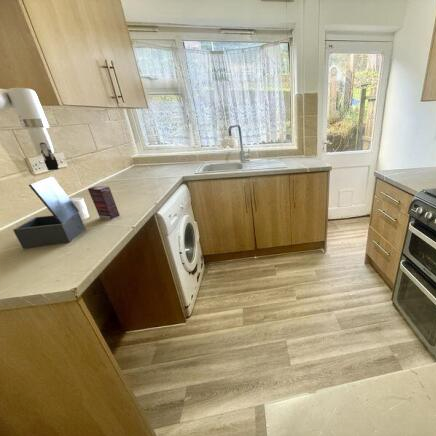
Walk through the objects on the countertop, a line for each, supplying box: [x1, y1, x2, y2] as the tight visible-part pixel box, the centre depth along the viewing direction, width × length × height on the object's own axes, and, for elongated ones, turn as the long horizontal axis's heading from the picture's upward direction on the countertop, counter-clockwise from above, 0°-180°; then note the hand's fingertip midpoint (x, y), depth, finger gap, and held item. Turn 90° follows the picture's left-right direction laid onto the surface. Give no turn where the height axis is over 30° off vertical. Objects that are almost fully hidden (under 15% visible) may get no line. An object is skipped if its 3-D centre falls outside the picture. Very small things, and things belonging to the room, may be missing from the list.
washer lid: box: [28, 176, 79, 224], centre depth 96 cm, size 16×13×1 cm
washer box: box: [12, 213, 86, 250], centre depth 100 cm, size 16×13×9 cm
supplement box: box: [87, 185, 121, 220], centre depth 119 cm, size 9×5×16 cm, turn 71°
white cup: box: [69, 196, 90, 221], centre depth 120 cm, size 8×8×10 cm
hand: (53, 168), depth 101 cm, fingers open, 9 cm apart
